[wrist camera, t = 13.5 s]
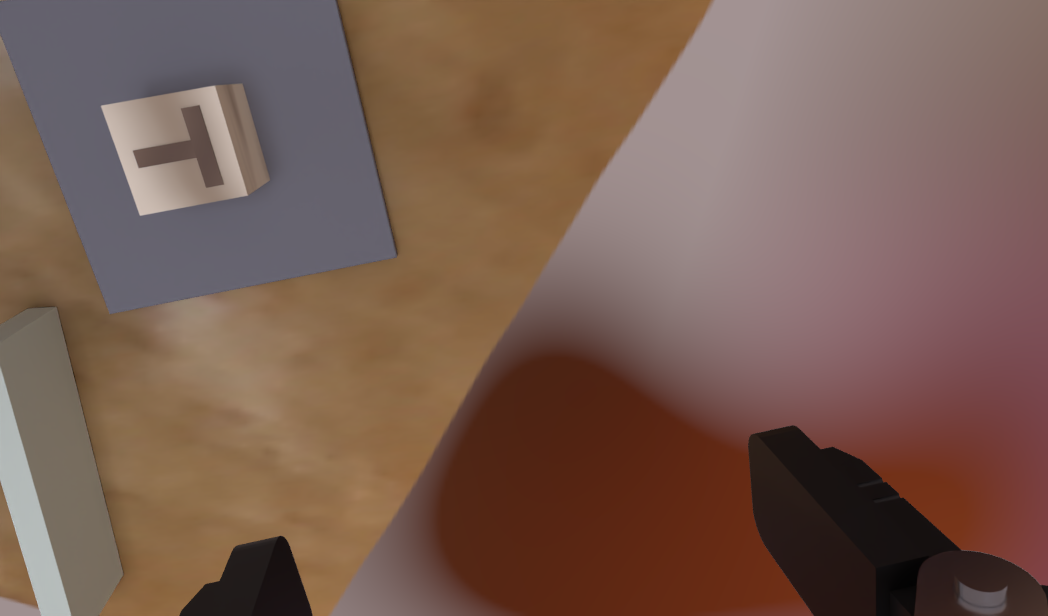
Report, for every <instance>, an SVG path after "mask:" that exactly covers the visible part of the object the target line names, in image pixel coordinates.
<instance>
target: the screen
mask: <svg viewBox="0 0 1048 616" xmlns="http://www.w3.org/2000/svg"><path fill="white" fill-rule="evenodd" d="M0 481H1V484H2V487H3V491H4V494H5V497H6V501H7V504H8V507H9V511H10V514H11V517H12V521H13V524H14V527H15V530H16V534H17V537H18V540H19V544H20V547H21V550H22V554H23V557H24V560H25V563H26V567H27V570H28V573H29V577H30V580H31V583H32V587H33V590H34V593H35V597H36V600H37V603H38V606H39V610H40V613H41V616H99V614H100V613H101V611H102V609H103V608H104V606H105V604H106V603H107V601H108V599H109V598H110V596H111V594H112V593H113V591H114V589H115V588H116V586H117V584H118V583H119V581H120V580H121V578H122V576H123V575H124V574H123V570H122V566H121V562H120V558H119V554H118V550H117V546H116V542H115V538H114V534H113V530H112V526H111V522H110V518H109V514H108V510H107V506H106V502H105V498H104V494H103V490H102V486H101V482H100V478H99V474H98V470H97V466H96V462H95V458H94V454H93V450H92V446H91V442H90V438H89V434H88V430H87V426H86V422H85V418H84V414H83V410H82V406H81V402H80V398H79V394H78V390H77V386H76V383H75V379H74V375H73V371H72V367H71V363H70V359H69V355H68V351H67V347H66V343H65V339H64V335H63V331H62V327H61V323H60V319H59V315H58V311H57V307H43V308H28V309H26V310H24V311H23V312H21V313H19V314H18V315H16V316H14V317H12V318H11V319H9V320H7V321H6V322H4V323H2V324H1V325H0Z"/></svg>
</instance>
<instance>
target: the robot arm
mask: <svg viewBox="0 0 1048 616" xmlns="http://www.w3.org/2000/svg"><path fill="white" fill-rule="evenodd" d="M748 445H749V446H748V448H749V462H750V476H751V490H752V503H753V513H754V518H755V522H756V526H757V529H758V531H759V534H760V537H761V539H762V541H763V543H764V545H765V546H766V548H767V549H768V551H769V552H770V554H771V555H772V556H773V558H774V559H775V561H776V562H777V564H778V565H779V567H780V568H781V569H782V571H783V572H784V574H785V575H786V576H787V578H788V579H789V581H790V582H791V584H792V585H793V587H794V588H795V589H796V591H797V592H798V594H799V595H800V597H801V598H802V599H803V601H804V602H805V603H806V605H807V606H808V608H809V609H810V611H811V612H812V614H813V615H814V616H1048V586H1045V585H1040V584H1039V583H1038V582H1037V581H1036V579H1035V578H1034V577H1032V576H1031V575H1030V574H1029V573H1028V572H1026V571H1025V570H1023V569H1022V568H1020V567H1019V566H1017V565H1015V564H1013V563H1011V562H1009V561H1007V560H1005V559H1002V558H1000V557H996V556H993V555H990V554H986V553H981V552H975V551H964V550H961V549H959V548H958V547H957V546H956V545H955V544H954V543H953V542H952V541H951V540H950V539H948V538H947V537H946V536H945V535H944V534H943V533H942V532H941V531H939V530H938V529H937V528H936V527H935V526H934V525H933V524H932V523H931V522H929V521H928V520H927V519H926V518H925V517H924V516H923V515H922V514H921V513H920V512H919V511H917V510H916V509H915V508H914V507H913V506H912V505H911V504H910V503H909V502H908V501H906V500H905V499H904V498H900V497H899V493H898V492H897V491H895V490H894V489H893V488H892V487H891V486H890V485H888V483H887V482H883V481H882V478H881V477H880V476H879V475H878V474H877V473H875V472H874V471H873V470H872V469H871V468H870V467H869V466H868V465H866V463H864V462H863V461H862V460H860V459H858V458H856V457H854V456H852V455H850V454H847V453H845V452H843V451H841V450H839V449H836V448H834V447H830V448H825V449H820V448H819V447H818V446H816V445H815V444H814V443H813V442H812V441H811V440H810V439H809V438H808V437H807V436H806V435H805V434H804V433H803V432H802V431H801V430H800V429H799V428H798V427H796V426H787V427H783V428H778V429H774V430H770V431H765V432H761V433H755V434H752V435H751V436H750V438H749V443H748ZM179 616H312V611H311V608H310V604H309V601H308V599H307V596H306V593H305V590H304V587H303V584H302V581H301V578H300V575H299V572H298V569H297V566H296V563H295V560H294V557H293V554H292V551H291V548H290V546H289V544H288V542H287V540H286V539H285V538H284V537H283V536H278V537H274V538H269V539H265V540H260V541H255V542H251V543H246V544H242V545H237V546H236V547H235V548H234V549H233V551H232V553H231V555H230V558H229V560H228V562H227V565H226V567H225V570H224V572H223V574H222V577H221V579H220V581H218V582H214V583H209V584H205V585H204V587H203V588H202V589H201V590H200V591H199V592H198V593H197V594H196V595H195V596H194V598H193V599H192V600H191V601H190V602H189V603H188V604H187V605H186V606H185V607H184V608H183V610H182V611H181V613H180V615H179Z"/></svg>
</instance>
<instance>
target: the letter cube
mask: <svg viewBox="0 0 1048 616" xmlns="http://www.w3.org/2000/svg"><path fill="white" fill-rule="evenodd" d="M101 108H102V111H103V113H104V116H105V119H106V122H107V125H108V127H109V130H110V133H111V136H112V139H113V141H114V144H115V147H116V150H117V153H118V155H119V158H120V161H121V164H122V167H123V169H124V172H125V175H126V178H127V181H128V184H129V186H130V189H131V192H132V195H133V198H134V200H135V203H136V206H137V209H138V212H139V214H140V216H142V215H147V214H152V213H157V212H163V211H168V210H173V209H179V208H184V207H189V206H195V205H200V204H205V203H211V202H216V201H221V200H227V199H232V198H237V197H243V196H248V195H249V194H251V193H252V192H254V191H255V190H257V189H258V188H260V187H261V186H262V185H264V184H265V183H267V182H268V181H270V177H269V174H268V170H267V167H266V163H265V160H264V156H263V153H262V150H261V146H260V143H259V139H258V136H257V132H256V129H255V125H254V122H253V118H252V115H251V111H250V108H249V104H248V101H247V98H246V94H245V91H244V87H243V84H229V85H215V86H209V87H204V88H198V89H192V90H187V91H181V92H175V93H170V94H164V95H158V96H153V97H147V98H141V99H136V100H130V101H125V102H119V103H113V104H108V105H102V106H101Z"/></svg>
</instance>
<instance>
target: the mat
mask: <svg viewBox="0 0 1048 616" xmlns="http://www.w3.org/2000/svg"><path fill="white" fill-rule="evenodd" d="M0 34H1V37H2V39H3V42H4V44H5V47H6V50H7V52H8V55H9V57H10V60H11V62H12V65H13V67H14V70H15V73H16V75H17V78H18V80H19V83H20V85H21V88H22V90H23V93H24V96H25V98H26V101H27V103H28V106H29V108H30V111H31V113H32V116H33V119H34V121H35V124H36V126H37V129H38V131H39V134H40V136H41V139H42V142H43V144H44V147H45V149H46V152H47V154H48V157H49V160H50V162H51V165H52V167H53V170H54V172H55V175H56V177H57V180H58V183H59V185H60V188H61V190H62V193H63V195H64V198H65V200H66V203H67V206H68V208H69V211H70V213H71V216H72V218H73V221H74V223H75V226H76V229H77V231H78V234H79V236H80V239H81V241H82V244H83V246H84V249H85V252H86V254H87V257H88V259H89V262H90V264H91V267H92V269H93V272H94V275H95V277H96V280H97V282H98V285H99V287H100V290H101V292H102V295H103V298H104V300H105V303H106V305H107V308H108V310H109V313H110V314H112V313H117V312H122V311H127V310H133V309H138V308H143V307H148V306H153V305H158V304H163V303H168V302H173V301H178V300H183V299H188V298H193V297H198V296H203V295H208V294H214V293H219V292H224V291H229V290H234V289H239V288H244V287H249V286H254V285H259V284H264V283H269V282H274V281H279V280H284V279H290V278H295V277H300V276H305V275H310V274H315V273H320V272H325V271H330V270H335V269H340V268H345V267H350V266H355V265H360V264H365V263H371V262H376V261H381V260H386V259H391V258H396V257H397V250H396V246H395V242H394V238H393V233H392V229H391V225H390V221H389V217H388V212H387V208H386V204H385V200H384V196H383V191H382V187H381V183H380V179H379V175H378V171H377V166H376V162H375V158H374V154H373V150H372V145H371V141H370V137H369V133H368V129H367V124H366V120H365V116H364V112H363V108H362V103H361V99H360V95H359V91H358V87H357V82H356V78H355V74H354V70H353V66H352V61H351V57H350V53H349V49H348V45H347V40H346V36H345V32H344V28H343V24H342V19H341V15H340V11H339V7H338V3H337V0H6V1H0ZM229 84H243V87H244V91H245V94H246V98H247V101H248V104H249V108H250V111H251V115H252V118H253V122H254V125H255V129H256V132H257V136H258V139H259V143H260V146H261V150H262V153H263V156H264V160H265V163H266V167H267V170H268V174H269V177H270V181H268V182H267V183H265V184H264V185H262V186H261V187H260V188H258V189H257V190H255V191H254V192H252V193H251V194H249V195H248V196H243V197H237V198H232V199H227V200H221V201H216V202H211V203H205V204H200V205H195V206H189V207H184V208H179V209H173V210H168V211H163V212H157V213H152V214H147V215H142V216H140V214H139V212H138V209H137V206H136V203H135V200H134V198H133V195H132V192H131V189H130V186H129V184H128V181H127V178H126V175H125V172H124V169H123V167H122V164H121V161H120V158H119V155H118V153H117V150H116V147H115V144H114V141H113V139H112V136H111V133H110V130H109V127H108V125H107V122H106V119H105V116H104V113H103V111H102V108H101V106H102V105H108V104H113V103H119V102H125V101H130V100H136V99H141V98H147V97H153V96H158V95H164V94H170V93H175V92H181V91H187V90H192V89H198V88H204V87H209V86H215V85H229Z"/></svg>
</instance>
